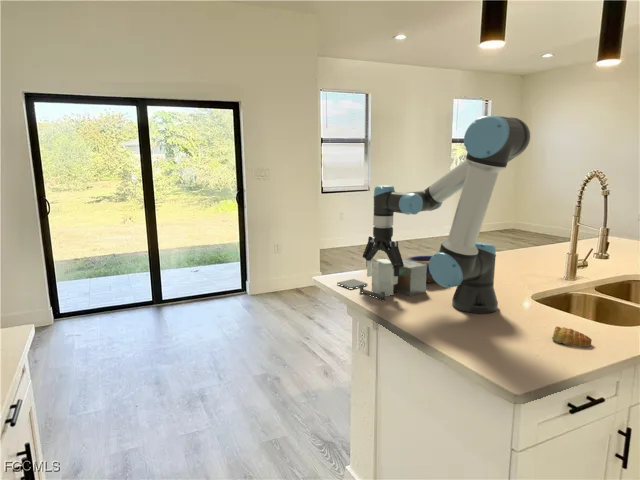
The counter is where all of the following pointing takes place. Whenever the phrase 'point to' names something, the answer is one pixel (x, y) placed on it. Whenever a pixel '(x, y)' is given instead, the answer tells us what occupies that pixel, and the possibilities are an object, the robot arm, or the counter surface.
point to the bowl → (423, 261)
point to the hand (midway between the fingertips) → (381, 280)
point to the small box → (382, 276)
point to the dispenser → (406, 280)
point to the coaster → (352, 283)
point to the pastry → (571, 337)
